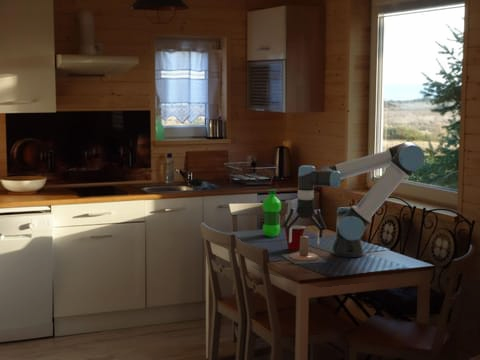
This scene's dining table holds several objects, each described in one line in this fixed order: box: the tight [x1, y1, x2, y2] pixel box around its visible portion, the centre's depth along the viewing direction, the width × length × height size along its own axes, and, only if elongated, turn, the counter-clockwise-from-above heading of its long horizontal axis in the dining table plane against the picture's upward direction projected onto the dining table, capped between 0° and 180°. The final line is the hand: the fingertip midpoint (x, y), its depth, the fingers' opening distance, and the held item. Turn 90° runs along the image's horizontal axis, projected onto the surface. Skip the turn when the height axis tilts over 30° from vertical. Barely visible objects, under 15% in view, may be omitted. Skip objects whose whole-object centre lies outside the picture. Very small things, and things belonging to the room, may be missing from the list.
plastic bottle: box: [262, 189, 282, 238], centre depth 415 cm, size 10×10×25 cm
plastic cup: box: [283, 224, 306, 252], centre depth 385 cm, size 11×11×12 cm
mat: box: [280, 253, 328, 265], centre depth 366 cm, size 18×16×1 cm
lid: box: [289, 235, 318, 261], centre depth 365 cm, size 13×13×10 cm
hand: (304, 243), depth 365 cm, fingers open, 13 cm apart
